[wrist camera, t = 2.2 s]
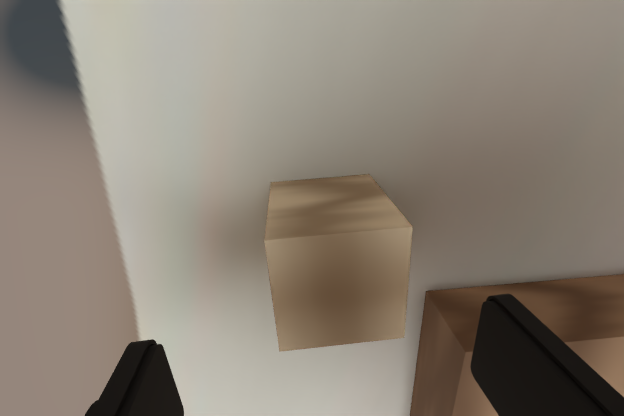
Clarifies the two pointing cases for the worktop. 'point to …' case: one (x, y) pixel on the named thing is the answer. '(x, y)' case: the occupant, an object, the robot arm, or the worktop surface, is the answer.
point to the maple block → (336, 262)
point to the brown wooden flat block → (544, 305)
